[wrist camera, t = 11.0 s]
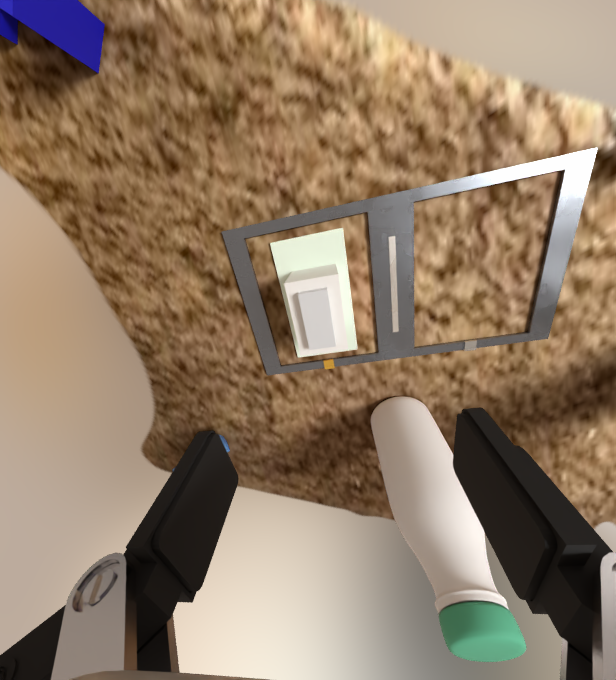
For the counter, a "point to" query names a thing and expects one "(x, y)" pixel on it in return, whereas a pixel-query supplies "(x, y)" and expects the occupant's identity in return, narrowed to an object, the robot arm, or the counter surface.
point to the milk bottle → (443, 532)
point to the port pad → (315, 254)
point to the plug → (317, 310)
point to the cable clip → (56, 26)
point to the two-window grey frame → (398, 261)
